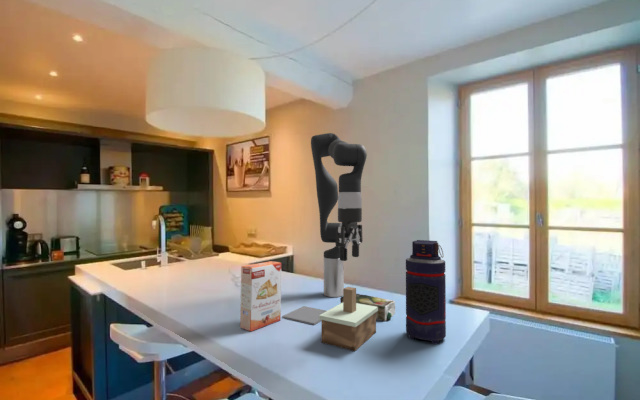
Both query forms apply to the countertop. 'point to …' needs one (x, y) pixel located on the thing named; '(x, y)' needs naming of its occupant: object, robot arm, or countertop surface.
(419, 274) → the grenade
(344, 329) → the egg box
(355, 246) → the robot arm
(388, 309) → the juice carton
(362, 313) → the lid
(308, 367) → the countertop surface
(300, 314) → the plate
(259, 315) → the cracker box
